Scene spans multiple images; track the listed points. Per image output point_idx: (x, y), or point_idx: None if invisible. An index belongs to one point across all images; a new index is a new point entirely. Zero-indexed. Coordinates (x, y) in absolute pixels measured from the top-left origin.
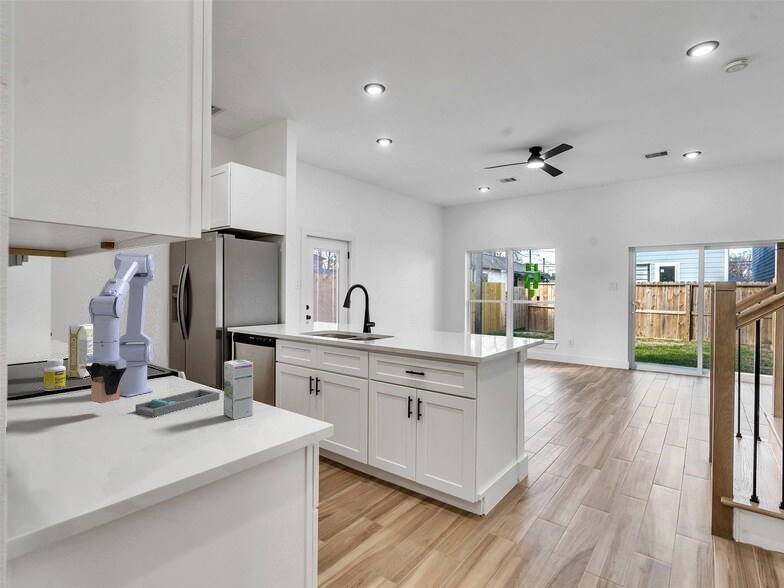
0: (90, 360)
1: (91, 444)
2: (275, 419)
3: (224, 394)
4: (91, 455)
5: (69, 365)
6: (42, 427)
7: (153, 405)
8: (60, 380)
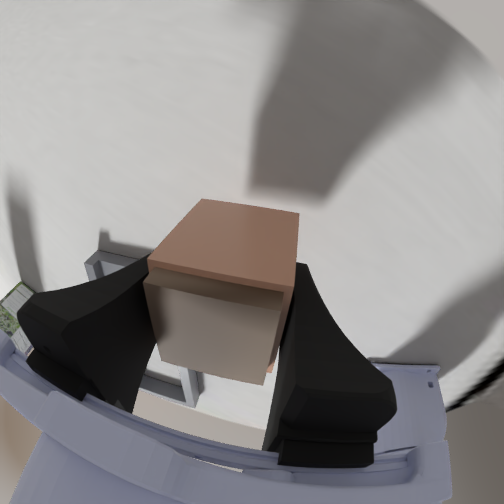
0: (51, 436)
1: (40, 55)
2: None
3: (17, 323)
4: (11, 46)
5: None
6: (313, 10)
7: None
8: None
